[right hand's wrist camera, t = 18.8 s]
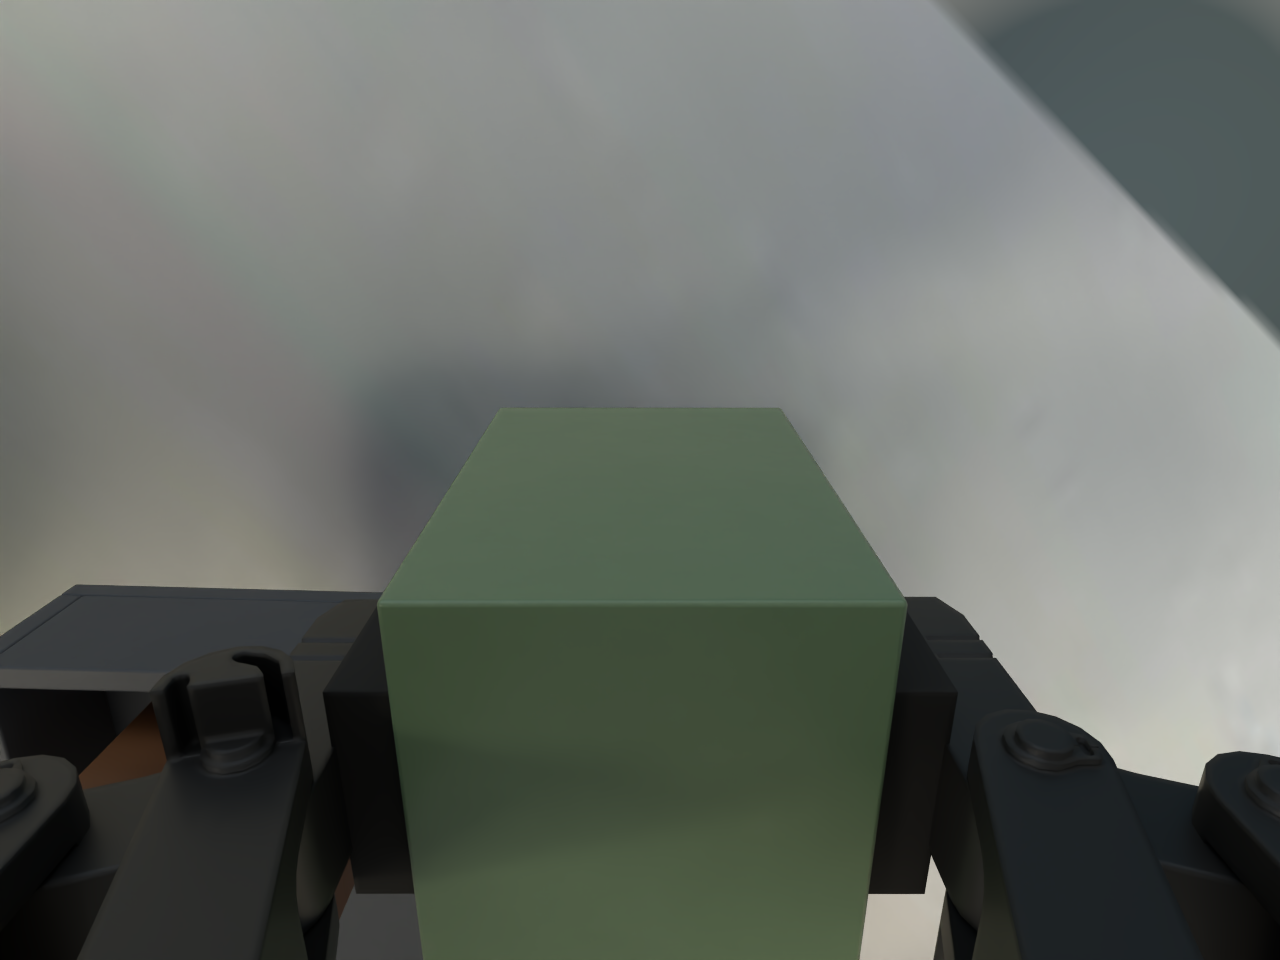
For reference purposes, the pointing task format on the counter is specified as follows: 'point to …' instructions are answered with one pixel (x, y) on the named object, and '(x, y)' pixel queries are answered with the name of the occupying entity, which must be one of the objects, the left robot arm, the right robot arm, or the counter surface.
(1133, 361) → the counter surface
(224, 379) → the counter surface
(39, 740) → the tray
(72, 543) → the counter surface
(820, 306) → the counter surface
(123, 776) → the walnut block
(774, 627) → the sage block
